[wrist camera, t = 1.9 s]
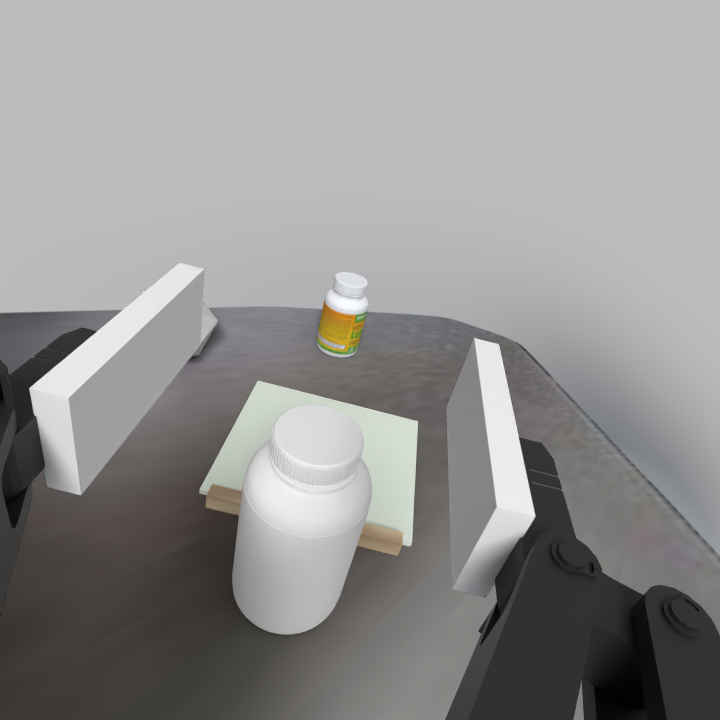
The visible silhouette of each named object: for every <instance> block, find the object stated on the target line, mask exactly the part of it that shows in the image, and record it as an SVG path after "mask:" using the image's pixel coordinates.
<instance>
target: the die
mask: <svg viewBox="0 0 720 720" xmlns="http://www.w3.org/2000/svg"><path fill="white" fill-rule="evenodd" d="M147 290H148V289H147ZM145 291H146V290H142V292H141V294H140V295H142V294H143V293H144V292H145ZM217 322H218V320H217V319H216V317H215V316H214V315H213V314H212V312H211V311H210V310H209V308H208V307H207V306H206V305H205V303H204V302H203V304H202V324H201V344H200V346H199V348H198V349H197V350H196V351H195V353H194V354H193V355H192V356H191V357H194V356H198V355H200V353H201V351H202V349H203V347H204V346H205V344H206V342H207V340H208V338H209V337H210V335H211V333H212V331H213V329H214V328H215V326H216V324H217Z"/></svg>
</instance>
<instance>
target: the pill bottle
mask: <svg viewBox="0 0 720 720" xmlns="http://www.w3.org/2000/svg"><path fill="white" fill-rule="evenodd" d="M363 441H364V439H363V435H362V432H361V430H360V428H359V427H358V425H357V424H356V423H355V421H354V420H353V419H351V418H350V417H349V416H348V415H346V414H345V413H343V412H341V411H339V410H337V409H334V408H331V407H328V406H323V405H314V404H310V405H301V406H297V407H294V408H291V409H289V410H287V411H285V412H284V413H283V414H281V415H280V416H279V417H278V419H276V421H275V422H274V424H273V427H272V432H271V439H270V441H268V442H266V443H265V444H264V445H263V446H261V447H260V448H259V449H258V450H257V452H256V453H255V454H254V455H253V457H252V458H251V460H250V462H249V464H248V466H247V468H246V471H245V474H244V479H243V487H242V495H241V504H240V512H239V521H238V529H237V538H236V546H235V555H234V563H233V572H232V586H233V593H234V597H235V600H236V602H237V605H238V607H239V608H240V610H241V611H242V613H243V614H244V615H245V617H246V618H247V619H248V620H249V621H251V622H252V623H253V624H254V625H256V626H258V627H259V628H261V629H263V630H266V631H268V632H271V633H276V634H284V635H289V634H297V633H302V632H305V631H308V630H310V629H312V628H314V627H316V626H317V625H319V624H320V623H321V622H323V621H324V620H325V619H326V618H327V617H328V616H329V614H330V613H331V612H332V610H333V609H334V607H335V605H336V604H337V602H338V600H339V597H340V595H341V592H342V589H343V586H344V583H345V580H346V577H347V574H348V571H349V568H350V565H351V562H352V559H353V556H354V553H355V550H356V547H357V544H358V541H359V538H360V535H361V532H362V529H363V526H364V523H365V520H366V517H367V514H368V511H369V508H370V505H371V501H372V482H371V477H370V473H369V471H368V468H367V466H366V464H365V462H364V461H363V459H362V458H361V455H362V451H363V447H364V442H363Z"/></svg>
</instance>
